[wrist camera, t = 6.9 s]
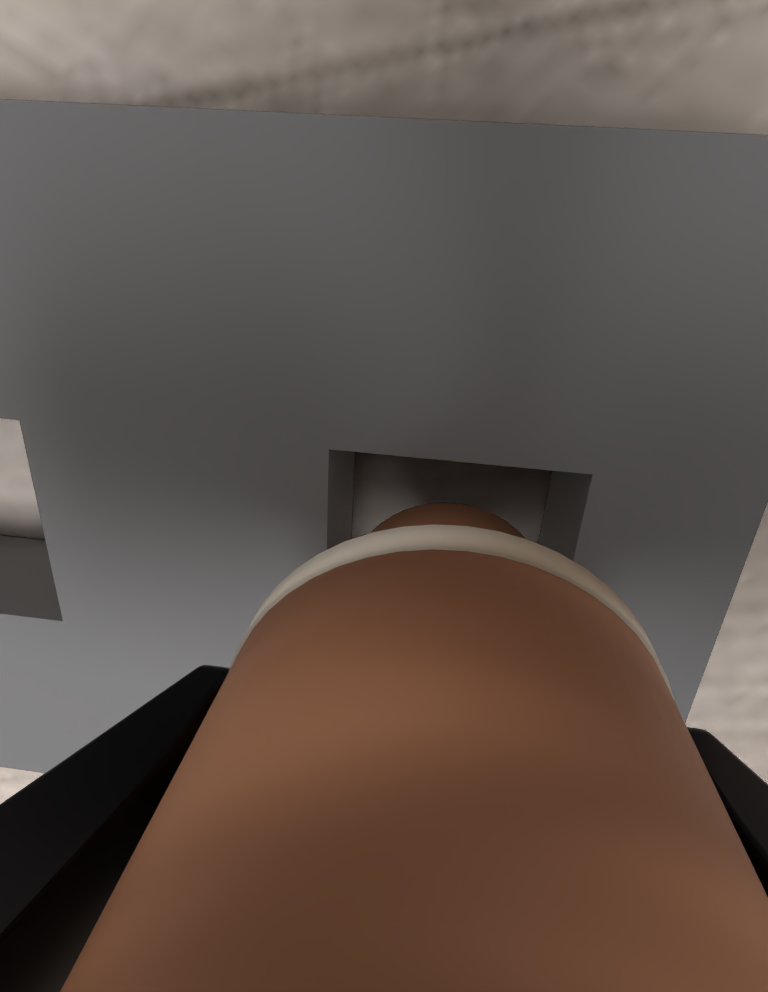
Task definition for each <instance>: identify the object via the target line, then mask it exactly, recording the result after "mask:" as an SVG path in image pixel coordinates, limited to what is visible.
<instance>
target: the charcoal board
mask: <svg viewBox="0 0 768 992" xmlns="http://www.w3.org/2000/svg"><path fill="white" fill-rule="evenodd" d="M0 418H5V419H16V420H20V425H21V430H22V434H23V439H24V444H25V448H26V453H27V457H28V462H29V467H30V471H31V476H32V481H33V485H34V490H35V494H36V499H37V504H38V508H39V513H40V518H41V522H42V527H43V531H44V536H45V540H36V539H27V538H18V537H9V536H1V535H0V767H6V768H13V769H19V770H26V771H33V772H40V773H46V772H48V771H49V770H50V769H52V768H53V767H55V766H56V765H58V764H59V763H61V762H62V761H63V760H65V759H66V758H68V757H69V756H71V755H72V754H74V753H75V752H76V751H78V750H79V749H81V748H82V747H84V746H85V745H86V744H88V743H89V742H91V741H92V740H94V739H95V738H97V737H98V736H99V735H101V734H102V733H104V732H105V731H107V730H108V729H109V728H111V727H112V726H114V725H115V724H117V723H118V722H120V721H121V720H122V719H124V718H125V717H127V716H128V715H130V714H131V713H132V712H134V711H135V710H137V709H138V708H140V707H141V706H143V705H144V704H145V703H147V702H148V701H150V700H151V699H153V698H154V697H156V696H157V695H158V694H160V693H161V692H163V691H164V690H166V689H167V688H168V687H170V686H171V685H173V684H174V683H176V682H177V681H179V680H180V679H181V678H183V677H184V676H186V675H187V674H189V673H190V672H191V671H193V670H194V669H196V668H197V667H199V666H202V665H212V666H220V667H227V668H230V667H231V664H232V662H233V659H234V656H235V654H236V651H237V648H238V646H239V644H240V643H241V641H242V639H243V637H244V635H245V633H246V631H247V630H248V628H249V626H250V624H251V622H252V620H253V619H254V617H255V615H256V614H257V612H258V610H259V608H260V607H261V605H262V603H263V602H264V601H265V600H266V598H267V597H268V596H269V595H270V594H271V592H272V591H273V590H274V589H275V588H276V586H277V585H278V584H279V583H280V582H282V581H283V580H284V579H285V578H286V577H287V576H288V575H289V574H291V573H292V572H293V571H294V570H295V569H296V568H298V567H299V566H301V565H302V564H304V563H305V562H307V561H308V560H310V559H311V558H313V557H314V556H316V555H317V554H319V553H321V552H323V551H325V550H327V549H330V548H332V547H334V546H336V545H338V544H340V543H342V542H344V541H347V540H351V536H352V510H353V484H354V459H355V452H362V453H373V454H383V455H394V456H404V457H415V458H425V459H436V460H446V461H457V462H467V463H478V464H488V465H499V466H509V467H520V468H530V469H541V470H551V471H552V475H551V480H550V486H549V491H548V496H547V501H546V506H545V511H544V516H543V521H542V527H541V532H540V537H539V542H538V544H540V545H542V546H544V547H547V548H549V549H551V550H554V551H556V552H559V553H560V554H562V555H564V556H565V557H567V558H569V559H571V560H572V561H574V562H576V563H577V564H579V565H581V566H583V567H584V568H586V569H587V570H588V571H590V572H591V573H592V574H594V575H595V576H596V577H597V578H599V579H600V580H601V581H603V582H604V583H605V584H606V585H608V586H609V587H610V588H611V589H612V590H613V591H614V592H615V593H616V594H617V595H618V597H619V598H620V599H621V600H622V601H623V602H624V603H625V604H626V605H627V606H628V607H629V609H630V610H631V611H632V613H633V614H634V616H635V617H636V618H637V620H638V621H639V623H640V624H641V625H642V627H643V629H644V631H645V633H646V635H647V637H648V639H649V641H650V643H651V645H652V647H653V649H654V651H655V653H656V655H657V657H658V659H659V661H660V663H661V665H662V667H663V670H664V672H665V674H666V676H667V678H668V680H669V684H670V687H671V690H672V694H673V697H674V701H675V703H676V706H677V708H678V710H679V712H680V714H681V716H682V718H683V720H684V722H686V719H687V716H688V713H689V711H690V708H691V705H692V703H693V700H694V697H695V695H696V692H697V689H698V687H699V684H700V681H701V679H702V676H703V673H704V671H705V668H706V665H707V663H708V660H709V657H710V655H711V652H712V649H713V647H714V644H715V641H716V639H717V636H718V633H719V631H720V628H721V625H722V623H723V620H724V617H725V615H726V612H727V609H728V607H729V604H730V601H731V599H732V596H733V593H734V591H735V588H736V585H737V583H738V580H739V577H740V575H741V572H742V569H743V567H744V564H745V561H746V559H747V556H748V553H749V551H750V548H751V545H752V543H753V540H754V537H755V535H756V532H757V529H758V527H759V524H760V521H761V518H762V516H763V513H764V510H765V508H766V505H767V502H768V135H758V134H736V133H715V132H693V131H672V130H651V129H629V128H608V127H587V126H565V125H544V124H523V123H501V122H480V121H459V120H437V119H416V118H395V117H373V116H352V115H331V114H309V113H288V112H267V111H245V110H224V109H202V108H181V107H160V106H138V105H117V104H96V103H74V102H53V101H32V100H10V99H0Z"/></svg>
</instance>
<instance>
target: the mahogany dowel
mask: <svg viewBox="0 0 768 992" xmlns="http://www.w3.org/2000/svg"><path fill="white" fill-rule="evenodd" d="M60 992H768V897H767V895H766V893H765V890H764V888H763V886H762V884H761V882H760V880H759V878H758V876H757V874H756V872H755V869H754V867H753V865H752V863H751V861H750V859H749V857H748V855H747V853H746V851H745V848H744V846H743V844H742V842H741V840H740V838H739V836H738V834H737V832H736V830H735V827H734V825H733V823H732V821H731V819H730V817H729V815H728V813H727V811H726V808H725V806H724V804H723V802H722V800H721V798H720V796H719V794H718V792H717V790H716V787H715V785H714V783H713V781H712V779H711V777H710V775H709V773H708V771H707V769H706V766H705V764H704V762H703V760H702V758H701V756H700V754H699V752H698V750H697V748H696V745H695V743H694V741H693V739H692V737H691V735H690V733H689V731H688V729H687V727H686V724H685V722H684V720H683V718H682V716H681V714H680V712H679V710H678V708H677V706H676V703H675V701H674V697H673V694H672V690H671V687H670V684H669V680H668V678H667V676H666V674H665V672H664V670H663V667H662V665H661V663H660V661H659V659H658V657H657V655H656V653H655V651H654V649H653V647H652V645H651V643H650V641H649V639H648V637H647V635H646V633H645V631H644V629H643V627H642V625H641V624H640V623H639V621H638V620H637V618H636V617H635V616H634V614H633V613H632V611H631V610H630V609H629V607H628V606H627V605H626V604H625V603H624V602H623V601H622V600H621V599H620V598H619V597H618V595H617V594H616V593H615V592H614V591H613V590H612V589H611V588H610V587H609V586H608V585H606V584H605V583H604V582H603V581H601V580H600V579H599V578H597V577H596V576H595V575H594V574H592V573H591V572H590V571H588V570H587V569H586V568H584V567H583V566H581V565H579V564H577V563H576V562H574V561H572V560H571V559H569V558H567V557H565V556H564V555H562V554H560V553H559V552H556V551H554V550H551V549H549V548H547V547H544V546H542V545H540V544H537V543H535V542H533V541H530V540H527V539H525V538H524V537H523V535H522V534H521V533H520V532H519V531H518V530H517V529H515V528H514V527H513V526H511V525H510V524H509V523H508V522H506V521H505V520H503V519H501V518H500V517H498V516H496V515H494V514H492V513H490V512H487V511H485V510H482V509H479V508H476V507H472V506H468V505H462V504H455V503H435V504H426V505H421V506H416V507H413V508H410V509H407V510H404V511H402V512H400V513H397V514H395V515H393V516H391V517H390V518H388V519H387V520H385V521H384V522H382V523H381V524H380V525H379V526H377V527H376V528H375V529H374V530H373V531H372V532H371V533H369V534H366V535H363V536H360V537H357V538H354V539H351V540H347V541H344V542H342V543H340V544H338V545H336V546H334V547H332V548H330V549H327V550H325V551H323V552H321V553H319V554H317V555H316V556H314V557H313V558H311V559H310V560H308V561H307V562H305V563H304V564H302V565H301V566H299V567H298V568H296V569H295V570H294V571H293V572H292V573H291V574H289V575H288V576H287V577H286V578H285V579H284V580H283V581H282V582H280V583H279V584H278V585H277V586H276V588H275V589H274V590H273V591H272V592H271V594H270V595H269V596H268V597H267V598H266V600H265V601H264V602H263V603H262V605H261V607H260V608H259V610H258V612H257V614H256V615H255V617H254V619H253V620H252V622H251V624H250V626H249V628H248V630H247V631H246V633H245V635H244V637H243V639H242V641H241V643H240V644H239V646H238V648H237V651H236V654H235V656H234V659H233V662H232V664H231V667H230V670H229V672H228V674H227V676H226V678H225V680H224V682H223V684H222V686H221V688H220V690H219V691H218V693H217V695H216V697H215V699H214V701H213V703H212V705H211V707H210V708H209V710H208V712H207V714H206V716H205V718H204V720H203V722H202V724H201V726H200V727H199V729H198V731H197V733H196V735H195V737H194V739H193V741H192V743H191V744H190V746H189V748H188V750H187V752H186V754H185V756H184V758H183V760H182V762H181V763H180V765H179V767H178V769H177V771H176V773H175V775H174V777H173V779H172V781H171V782H170V784H169V786H168V788H167V790H166V792H165V794H164V796H163V798H162V799H161V801H160V803H159V805H158V807H157V809H156V811H155V813H154V815H153V817H152V818H151V820H150V822H149V824H148V826H147V828H146V830H145V832H144V834H143V835H142V837H141V839H140V841H139V843H138V845H137V847H136V849H135V851H134V853H133V854H132V856H131V858H130V860H129V862H128V864H127V866H126V868H125V870H124V872H123V873H122V875H121V877H120V879H119V881H118V883H117V885H116V887H115V889H114V890H113V892H112V894H111V896H110V898H109V900H108V902H107V904H106V906H105V908H104V909H103V911H102V913H101V915H100V917H99V919H98V921H97V923H96V925H95V926H94V928H93V930H92V932H91V934H90V936H89V938H88V940H87V942H86V944H85V945H84V947H83V949H82V951H81V953H80V955H79V957H78V959H77V961H76V963H75V964H74V966H73V968H72V970H71V972H70V974H69V976H68V978H67V980H66V981H65V983H64V985H63V987H62V989H61V991H60Z"/></svg>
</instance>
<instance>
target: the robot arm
mask: <svg viewBox="0 0 768 992" xmlns="http://www.w3.org/2000/svg"><path fill="white" fill-rule="evenodd" d="M229 670H230V668H227V667H220V666H212V665H202V666H199V667H197V668H196V669H194V670H193V671H191V672H190V673H189V674H187V675H186V676H184V677H183V678H181V679H180V680H179V681H177V682H176V683H174V684H173V685H171V686H170V687H168V688H167V689H166V690H164V691H163V692H161V693H160V694H158V695H157V696H156V697H154V698H153V699H151V700H150V701H148V702H147V703H145V704H144V705H143V706H141V707H140V708H138V709H137V710H135V711H134V712H132V713H131V714H130V715H128V716H127V717H125V718H124V719H122V720H121V721H120V722H118V723H117V724H115V725H114V726H112V727H111V728H109V729H108V730H107V731H105V732H104V733H102V734H101V735H99V736H98V737H97V738H95V739H94V740H92V741H91V742H89V743H88V744H86V745H85V746H84V747H82V748H81V749H79V750H78V751H76V752H75V753H74V754H72V755H71V756H69V757H68V758H66V759H65V760H63V761H62V762H61V763H59V764H58V765H56V766H55V767H53V768H52V769H50V770H49V771H48V772H46V773H45V774H43V775H42V776H40V777H39V778H38V779H36V780H35V781H33V782H32V783H30V784H29V785H27V786H26V787H25V788H23V789H22V790H20V791H19V792H17V793H16V794H15V795H13V796H12V797H10V798H9V799H7V800H6V801H4V802H3V803H2V804H0V992H60V991H61V989H62V987H63V985H64V983H65V981H66V980H67V978H68V976H69V974H70V972H71V970H72V968H73V966H74V964H75V963H76V961H77V959H78V957H79V955H80V953H81V951H82V949H83V947H84V945H85V944H86V942H87V940H88V938H89V936H90V934H91V932H92V930H93V928H94V926H95V925H96V923H97V921H98V919H99V917H100V915H101V913H102V911H103V909H104V908H105V906H106V904H107V902H108V900H109V898H110V896H111V894H112V892H113V890H114V889H115V887H116V885H117V883H118V881H119V879H120V877H121V875H122V873H123V872H124V870H125V868H126V866H127V864H128V862H129V860H130V858H131V856H132V854H133V853H134V851H135V849H136V847H137V845H138V843H139V841H140V839H141V837H142V835H143V834H144V832H145V830H146V828H147V826H148V824H149V822H150V820H151V818H152V817H153V815H154V813H155V811H156V809H157V807H158V805H159V803H160V801H161V799H162V798H163V796H164V794H165V792H166V790H167V788H168V786H169V784H170V782H171V781H172V779H173V777H174V775H175V773H176V771H177V769H178V767H179V765H180V763H181V762H182V760H183V758H184V756H185V754H186V752H187V750H188V748H189V746H190V744H191V743H192V741H193V739H194V737H195V735H196V733H197V731H198V729H199V727H200V726H201V724H202V722H203V720H204V718H205V716H206V714H207V712H208V710H209V708H210V707H211V705H212V703H213V701H214V699H215V697H216V695H217V693H218V691H219V690H220V688H221V686H222V684H223V682H224V680H225V678H226V676H227V674H228V672H229ZM687 729H688V731H689V733H690V735H691V737H692V739H693V741H694V743H695V745H696V748H697V750H698V752H699V754H700V756H701V758H702V760H703V762H704V764H705V766H706V769H707V771H708V773H709V775H710V777H711V779H712V781H713V783H714V785H715V787H716V790H717V792H718V794H719V796H720V798H721V800H722V802H723V804H724V806H725V808H726V811H727V813H728V815H729V817H730V819H731V821H732V823H733V825H734V827H735V830H736V832H737V834H738V836H739V838H740V840H741V842H742V844H743V846H744V848H745V851H746V853H747V855H748V857H749V859H750V861H751V863H752V865H753V867H754V869H755V872H756V874H757V876H758V878H759V880H760V882H761V884H762V886H763V888H764V890H765V893H766V895H767V897H768V784H767V783H765V782H764V781H763V780H762V779H761V778H760V777H759V776H758V775H757V774H755V773H754V772H753V771H752V770H751V769H750V768H749V767H748V766H747V765H745V764H744V763H743V762H742V761H741V760H740V759H739V758H738V757H736V756H735V755H734V754H733V753H732V752H731V751H730V750H729V749H728V748H726V747H725V746H724V745H723V744H722V743H721V742H720V741H719V740H718V739H716V738H715V737H714V736H713V735H712V734H710V733H709V732H707V731H706V730H702V729H697V728H689V727H687Z"/></svg>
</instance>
